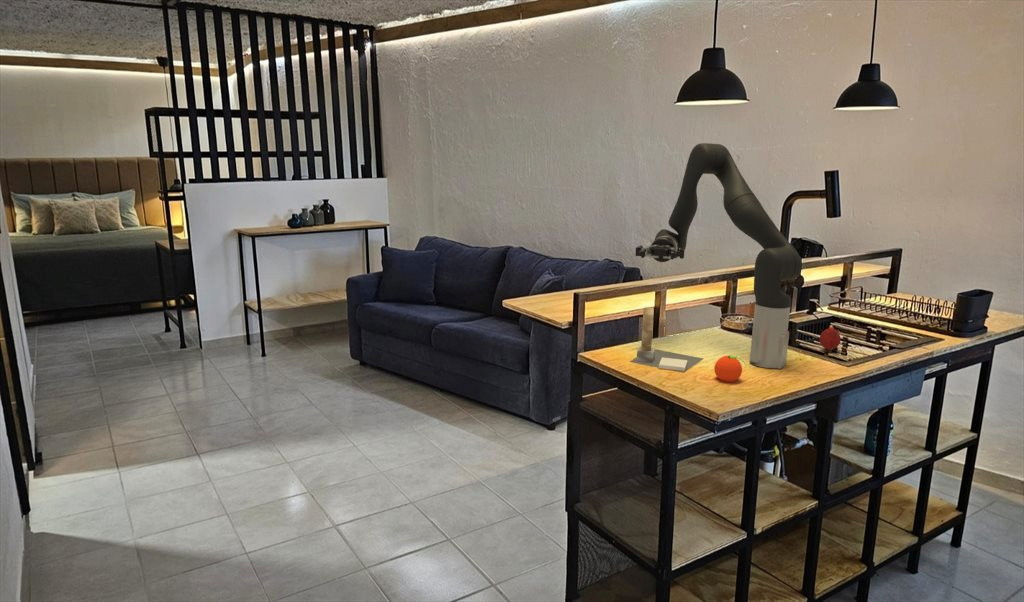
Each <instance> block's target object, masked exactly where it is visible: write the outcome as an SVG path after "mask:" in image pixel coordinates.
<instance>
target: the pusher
mask: <svg viewBox="0 0 1024 602" xmlns="http://www.w3.org/2000/svg"><path fill="white" fill-rule="evenodd" d="M654 310H655V308H653V307H651V306H650V307H647V306H646V307H643V312H642V313H643V314H642V328H641V329H642V330H641V331H642V332H641V346H639V347H638V349H637V351H636V358H637V361H641V362H650V363H652V362H653V360H654V358H655V349H656V348H654V347H652V342H653V331H654V330H653V328H654V314H655V313H654Z"/></svg>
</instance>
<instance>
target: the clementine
mask: <svg viewBox="0 0 1024 602" xmlns="http://www.w3.org/2000/svg"><path fill="white" fill-rule="evenodd" d="M739 360H741V361H742V362H744V364H746V363H745V361H743V359H742V358H740V357H737V356H732V355H724V356H722V357H720V358H718V360H716V362H715V363H714V368H713V369H714V370H713V371H714V373H715V376H716V377H717V378H718V379H719V380H720V381H721V382H725V383H733V382H736V381H737V380H738V379H740V378H741V376H742V372H743V366H742V364H741V362H740V361H739Z"/></svg>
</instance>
